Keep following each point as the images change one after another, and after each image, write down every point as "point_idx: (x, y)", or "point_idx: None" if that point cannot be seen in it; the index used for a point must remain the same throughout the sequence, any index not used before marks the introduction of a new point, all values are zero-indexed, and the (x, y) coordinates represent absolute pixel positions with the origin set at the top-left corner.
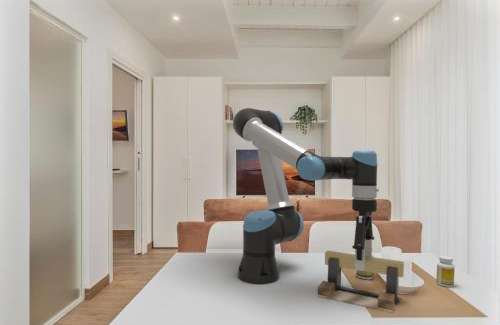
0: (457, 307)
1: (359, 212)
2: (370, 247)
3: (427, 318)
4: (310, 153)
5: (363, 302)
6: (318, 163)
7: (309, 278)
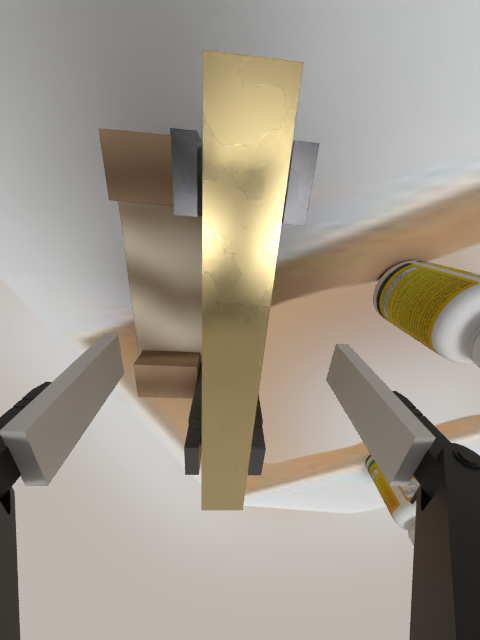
0: None
1: None
2: (361, 429)
3: (160, 432)
4: None
5: (152, 313)
6: None
7: (321, 27)
